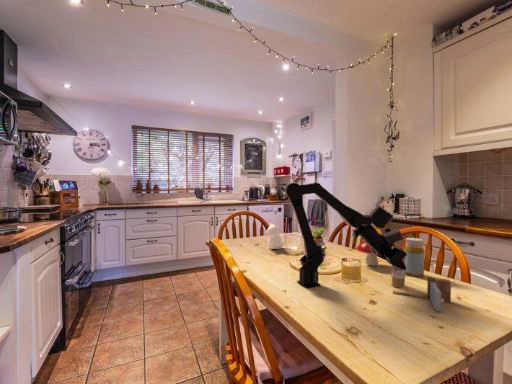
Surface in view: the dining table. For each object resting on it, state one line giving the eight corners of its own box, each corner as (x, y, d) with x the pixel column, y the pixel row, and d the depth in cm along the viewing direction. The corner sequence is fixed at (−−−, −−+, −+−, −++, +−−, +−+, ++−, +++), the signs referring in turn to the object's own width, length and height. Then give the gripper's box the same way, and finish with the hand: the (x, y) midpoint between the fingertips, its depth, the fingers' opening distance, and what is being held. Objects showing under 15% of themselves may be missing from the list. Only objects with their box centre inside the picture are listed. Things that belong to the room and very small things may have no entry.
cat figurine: (263, 248, 153) (263, 223, 152) (281, 245, 158) (281, 221, 158) (271, 251, 145) (270, 225, 144) (289, 248, 150) (289, 223, 149)
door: (430, 298, 83) (430, 282, 83) (437, 300, 82) (438, 283, 82) (435, 310, 75) (436, 292, 75) (444, 312, 74) (444, 293, 74)
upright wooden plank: (448, 300, 83) (449, 279, 83) (450, 302, 81) (451, 281, 81) (392, 291, 90) (393, 272, 90) (393, 293, 88) (393, 274, 88)
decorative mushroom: (395, 269, 113) (396, 236, 113) (367, 271, 111) (367, 237, 111) (376, 260, 127) (376, 230, 127) (350, 261, 125) (350, 231, 125)
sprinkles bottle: (390, 286, 95) (390, 250, 94) (392, 282, 98) (393, 248, 98) (404, 289, 92) (404, 252, 91) (406, 285, 95) (406, 250, 95)
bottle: (422, 272, 109) (422, 238, 108) (425, 278, 103) (425, 241, 102) (403, 270, 112) (403, 236, 111) (405, 275, 105) (405, 239, 105)
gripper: (401, 226, 85) (434, 259, 85) (377, 219, 104) (404, 246, 103) (377, 249, 86) (410, 282, 85) (357, 238, 104) (384, 265, 104)
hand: (402, 267), depth 95 cm, fingers closed on sprinkles bottle, 4 cm apart
